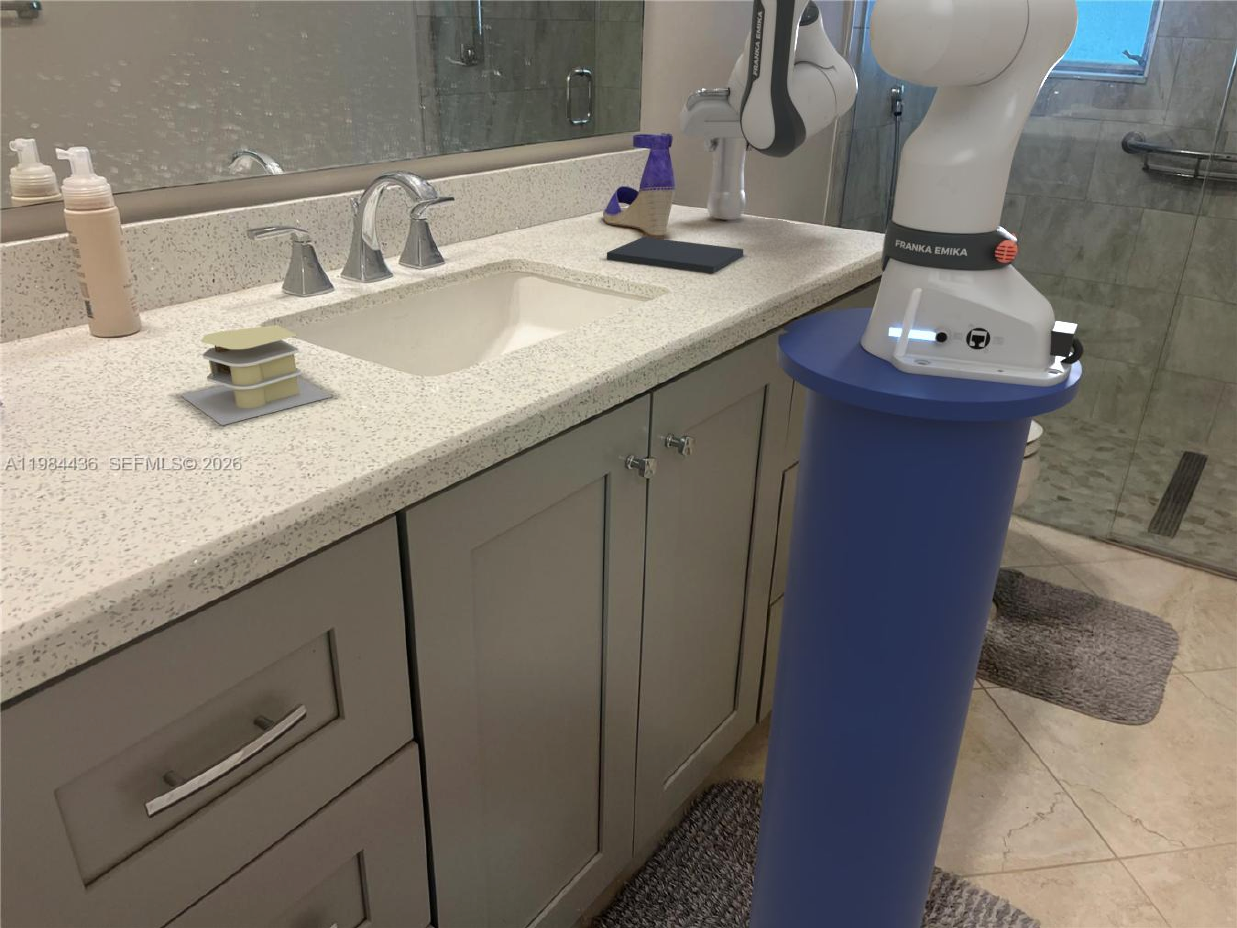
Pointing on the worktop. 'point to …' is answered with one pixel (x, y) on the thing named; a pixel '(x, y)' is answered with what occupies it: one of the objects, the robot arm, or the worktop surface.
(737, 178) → the plastic bottle
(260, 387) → the stacked layers on plate
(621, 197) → the sandal
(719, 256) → the dark rectangular flat slab
